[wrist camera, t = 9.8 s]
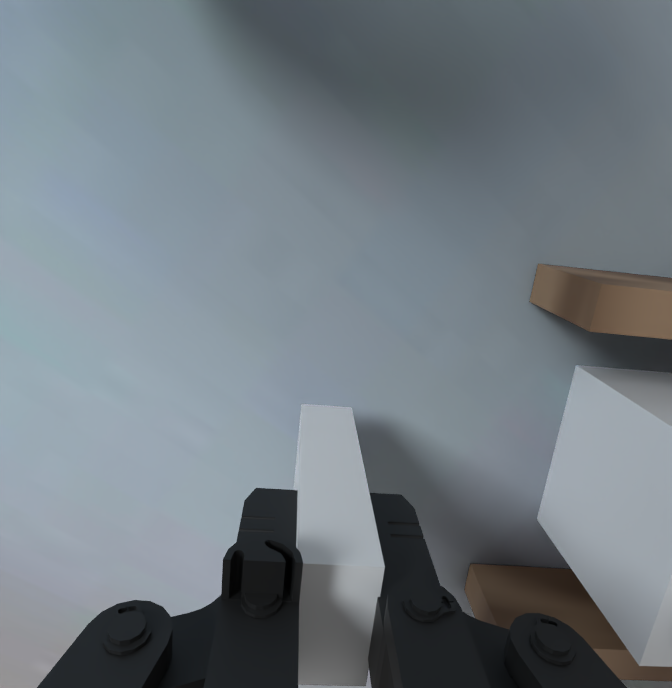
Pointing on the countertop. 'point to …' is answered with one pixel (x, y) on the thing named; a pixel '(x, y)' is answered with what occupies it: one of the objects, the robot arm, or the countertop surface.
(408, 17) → the countertop surface
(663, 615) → the matte white cube
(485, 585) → the bay
